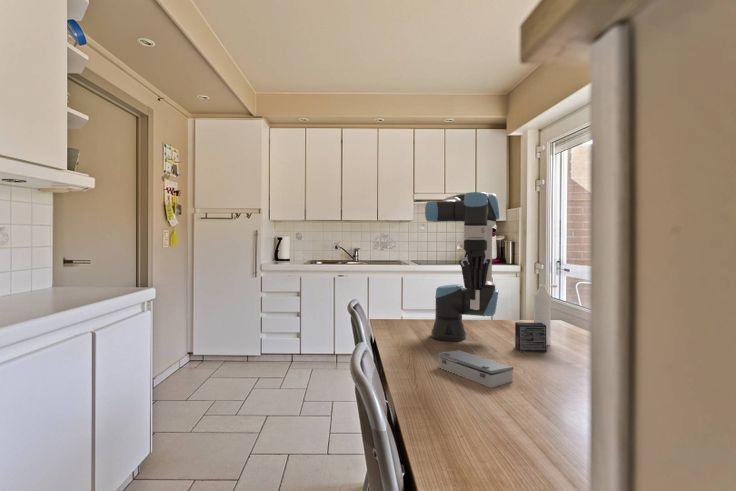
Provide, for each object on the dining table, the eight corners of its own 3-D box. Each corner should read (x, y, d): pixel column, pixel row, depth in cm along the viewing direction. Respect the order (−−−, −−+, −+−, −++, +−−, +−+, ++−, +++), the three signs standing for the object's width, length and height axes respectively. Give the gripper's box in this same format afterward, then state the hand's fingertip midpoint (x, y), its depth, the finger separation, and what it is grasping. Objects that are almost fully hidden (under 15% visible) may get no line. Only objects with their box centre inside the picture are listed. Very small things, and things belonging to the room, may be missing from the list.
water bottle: (534, 345, 166) (535, 284, 166) (533, 341, 172) (533, 283, 172) (557, 346, 164) (558, 285, 163) (555, 343, 170) (556, 284, 169)
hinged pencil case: (437, 367, 135) (437, 357, 135) (459, 362, 141) (459, 352, 141) (490, 388, 117) (490, 376, 117) (512, 381, 123) (512, 369, 123)
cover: (438, 355, 135) (438, 352, 135) (459, 352, 141) (460, 349, 141) (491, 373, 117) (491, 369, 117) (513, 369, 123) (513, 365, 123)
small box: (541, 348, 162) (541, 322, 162) (547, 352, 155) (547, 325, 155) (514, 347, 163) (514, 321, 163) (518, 351, 156) (519, 324, 156)
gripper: (470, 239, 127) (469, 313, 128) (497, 238, 134) (496, 308, 135) (453, 239, 133) (452, 309, 134) (479, 238, 141) (479, 305, 142)
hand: (474, 308), depth 135 cm, fingers closed
